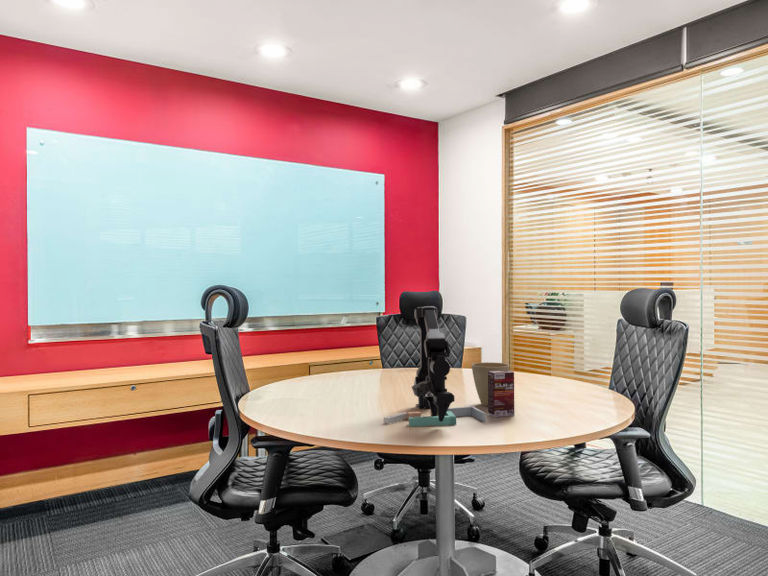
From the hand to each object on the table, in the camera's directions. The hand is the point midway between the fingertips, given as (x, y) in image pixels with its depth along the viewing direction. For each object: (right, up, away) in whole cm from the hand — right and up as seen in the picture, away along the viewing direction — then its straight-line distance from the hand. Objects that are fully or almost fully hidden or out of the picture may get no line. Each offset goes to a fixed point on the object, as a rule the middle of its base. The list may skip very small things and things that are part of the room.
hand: (437, 419), depth 184 cm
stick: (-14, -3, +7) cm, 16 cm away
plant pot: (+24, -2, +31) cm, 39 cm away
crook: (-2, -2, +4) cm, 5 cm away
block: (+1, -2, +8) cm, 8 cm away
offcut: (-7, -2, +9) cm, 12 cm away
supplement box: (+25, -2, +12) cm, 28 cm away
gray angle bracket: (+10, -2, +8) cm, 13 cm away
